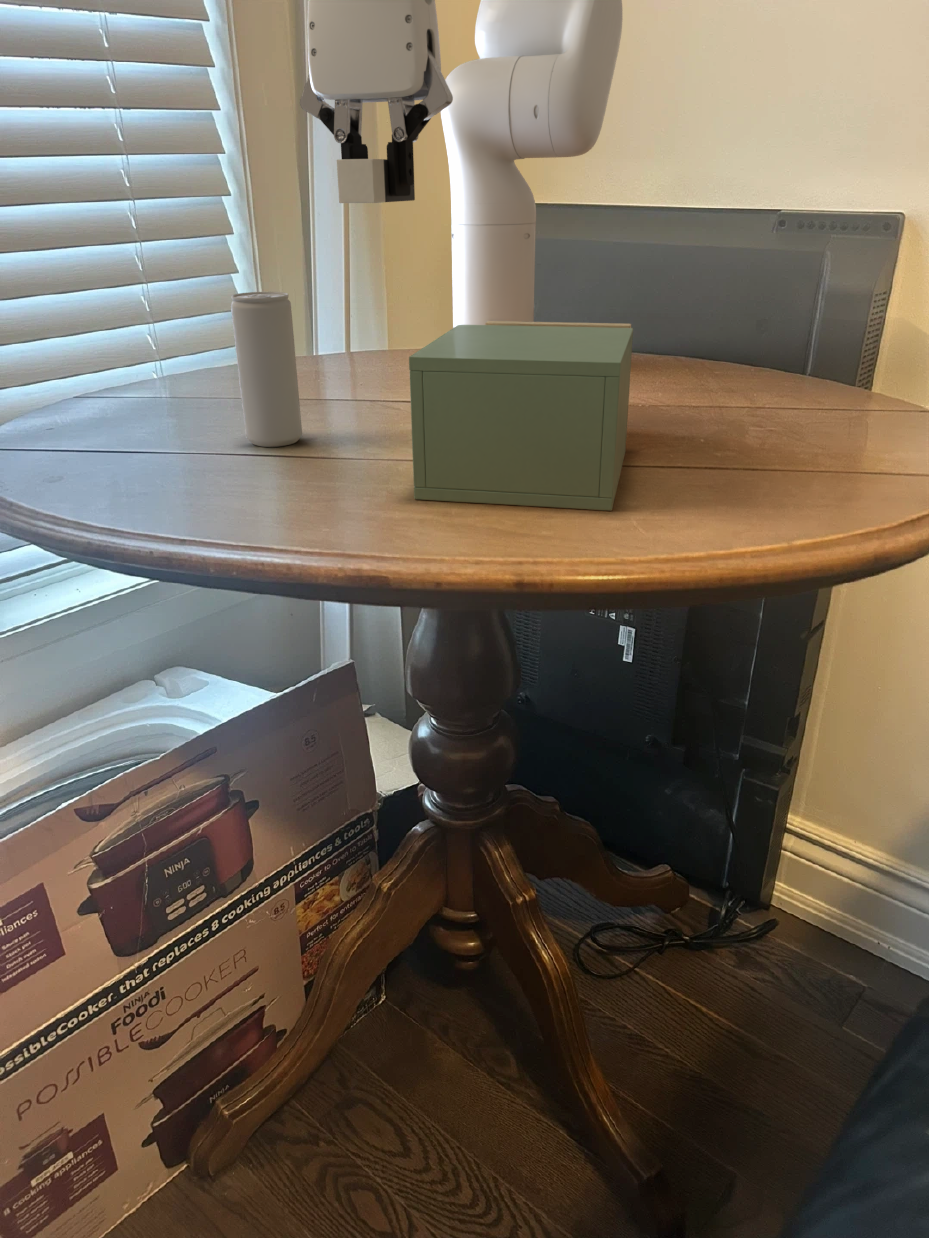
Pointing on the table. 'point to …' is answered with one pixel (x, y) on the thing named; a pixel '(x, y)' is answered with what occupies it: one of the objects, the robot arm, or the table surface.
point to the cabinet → (521, 415)
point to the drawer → (559, 324)
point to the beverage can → (267, 367)
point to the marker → (366, 182)
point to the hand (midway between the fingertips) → (379, 193)
